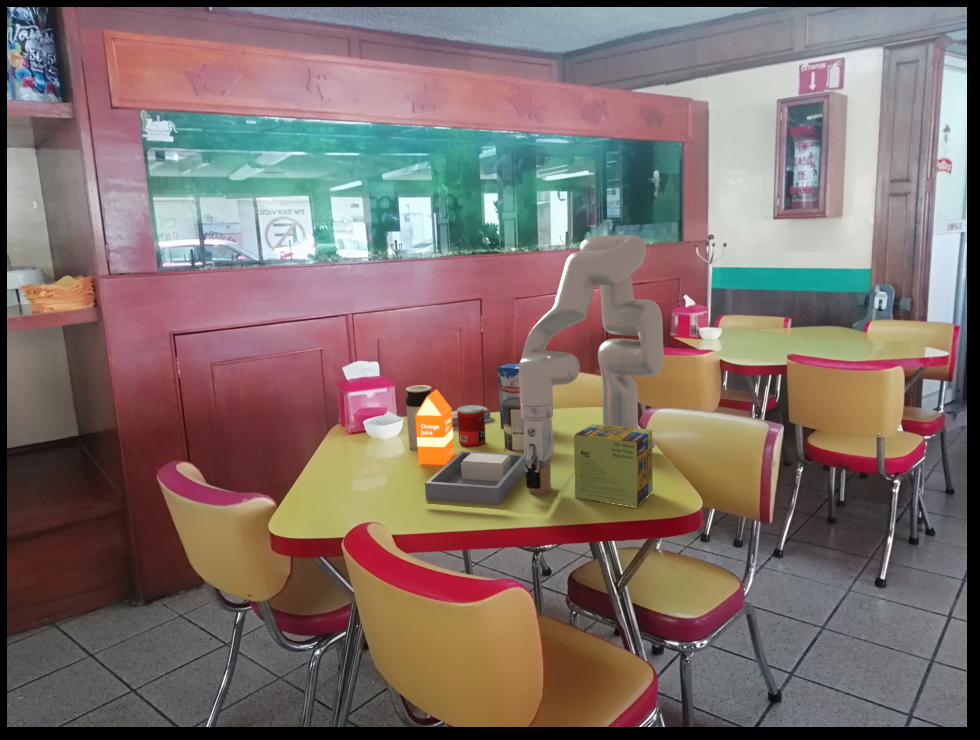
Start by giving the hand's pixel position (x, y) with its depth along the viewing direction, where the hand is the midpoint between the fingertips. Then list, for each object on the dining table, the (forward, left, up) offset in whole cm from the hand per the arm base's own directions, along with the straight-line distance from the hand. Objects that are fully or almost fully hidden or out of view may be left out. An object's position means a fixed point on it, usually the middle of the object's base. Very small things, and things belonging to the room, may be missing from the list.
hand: (538, 480), depth 162 cm
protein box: (-17, -3, -4) cm, 18 cm away
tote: (+16, -2, -4) cm, 16 cm away
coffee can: (+14, -34, -4) cm, 37 cm away
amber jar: (0, 0, -4) cm, 4 cm away
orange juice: (+34, -18, -4) cm, 39 cm away
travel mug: (+44, -31, -4) cm, 54 cm away
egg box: (+16, -8, -3) cm, 18 cm away
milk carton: (+21, -55, -4) cm, 59 cm away
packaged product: (+41, -58, -4) cm, 71 cm away
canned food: (+30, -36, -4) cm, 47 cm away
